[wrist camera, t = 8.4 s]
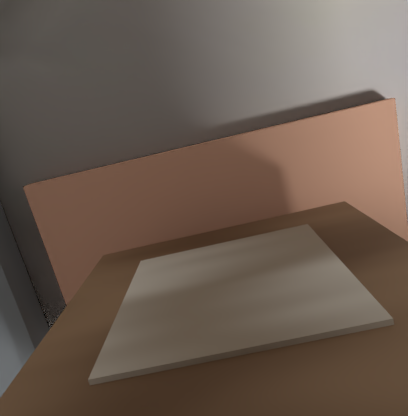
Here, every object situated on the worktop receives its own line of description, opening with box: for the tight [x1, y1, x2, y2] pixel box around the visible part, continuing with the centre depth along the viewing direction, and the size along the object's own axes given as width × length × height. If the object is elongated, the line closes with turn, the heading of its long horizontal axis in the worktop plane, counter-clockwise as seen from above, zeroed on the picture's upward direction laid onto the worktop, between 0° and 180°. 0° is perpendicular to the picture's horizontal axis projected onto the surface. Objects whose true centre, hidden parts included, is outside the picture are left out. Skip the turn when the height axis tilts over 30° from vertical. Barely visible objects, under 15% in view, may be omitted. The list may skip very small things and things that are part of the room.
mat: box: [23, 98, 408, 306], centre depth 11 cm, size 10×10×1 cm
